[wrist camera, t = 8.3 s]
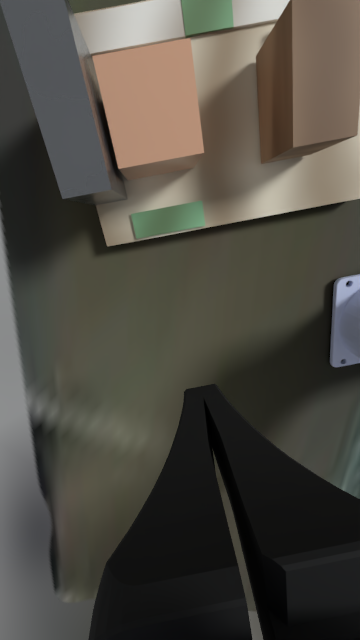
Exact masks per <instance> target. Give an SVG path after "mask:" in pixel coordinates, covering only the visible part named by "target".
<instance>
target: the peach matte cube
mask: <svg viewBox="0 0 360 640" xmlns="http://www.w3.org/2000/svg"><path fill="white" fill-rule="evenodd" d="M92 57H93V61H94V66H95V70H96V74H97V79H98V83H99V87H100V92H101V96H102V100H103V104H104V109H105V113H106V117H107V122H108V126H109V130H110V135H111V139H112V143H113V147H114V152H115V156H116V160H117V165H118V169H119V170H120V171H121V173H122V174H123V175H124V176H125V177H126V179H127V180H133V179H138V178H144V177H149V176H154V175H159V174H165V173H170V172H175V171H181V170H186V169H191V168H194V166H195V165H196V164H197V162H198V161H199V159H200V158H201V157H202V155H203V154H204V147H203V139H202V130H201V122H200V114H199V105H198V97H197V89H196V80H195V72H194V64H193V55H192V47H191V39H190V38H187V39H181V40H176V41H171V42H165V43H160V44H154V45H149V46H144V47H138V48H133V49H127V50H122V51H117V52H111V53H106V54H100V55H95V56H92Z"/></svg>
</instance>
